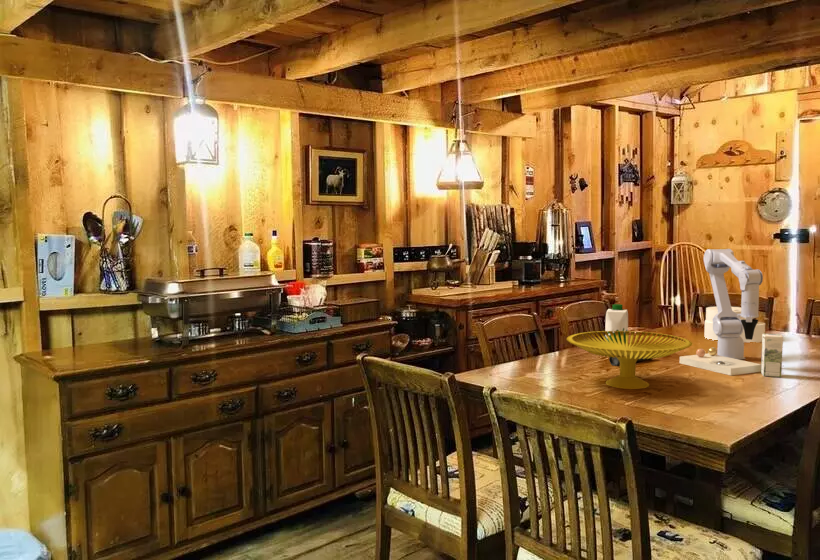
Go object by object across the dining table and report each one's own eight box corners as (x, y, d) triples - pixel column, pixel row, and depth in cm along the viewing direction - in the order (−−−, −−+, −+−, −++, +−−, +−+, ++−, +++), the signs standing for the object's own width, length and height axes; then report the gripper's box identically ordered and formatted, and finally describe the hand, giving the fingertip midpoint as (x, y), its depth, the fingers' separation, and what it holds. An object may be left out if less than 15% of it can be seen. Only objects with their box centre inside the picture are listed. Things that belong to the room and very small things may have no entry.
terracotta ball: (700, 355, 268) (700, 347, 268) (707, 357, 265) (707, 349, 265) (694, 356, 267) (694, 348, 266) (700, 358, 264) (700, 349, 263)
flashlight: (608, 365, 266) (608, 352, 266) (645, 359, 277) (645, 346, 276) (618, 367, 262) (618, 354, 261) (655, 361, 273) (655, 348, 272)
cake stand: (678, 405, 207) (679, 355, 206) (548, 389, 228) (548, 344, 227) (702, 378, 241) (703, 335, 240) (587, 366, 262) (587, 327, 261)
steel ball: (723, 359, 253) (729, 365, 253) (718, 358, 256) (724, 364, 256) (717, 366, 252) (723, 372, 252) (712, 365, 255) (718, 371, 256)
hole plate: (708, 359, 273) (709, 353, 273) (761, 371, 251) (761, 364, 251) (679, 363, 267) (679, 356, 267) (730, 375, 245) (730, 368, 245)
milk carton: (628, 352, 290) (629, 304, 288) (626, 356, 282) (627, 307, 280) (606, 351, 293) (607, 303, 292) (604, 354, 285) (604, 306, 283)
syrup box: (778, 374, 246) (780, 333, 245) (781, 377, 241) (783, 336, 240) (760, 373, 248) (762, 332, 247) (763, 376, 243) (764, 335, 241)
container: (762, 344, 304) (763, 313, 303) (700, 340, 317) (701, 310, 316) (766, 338, 321) (767, 308, 320) (708, 333, 334) (708, 305, 333)
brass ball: (712, 354, 270) (712, 346, 270) (718, 355, 267) (719, 347, 267) (706, 355, 269) (706, 347, 269) (712, 356, 266) (712, 348, 266)
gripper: (738, 300, 265) (737, 335, 266) (737, 304, 252) (736, 341, 253) (759, 300, 262) (758, 336, 263) (758, 305, 249) (757, 342, 250)
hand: (748, 339), depth 258 cm, fingers closed
